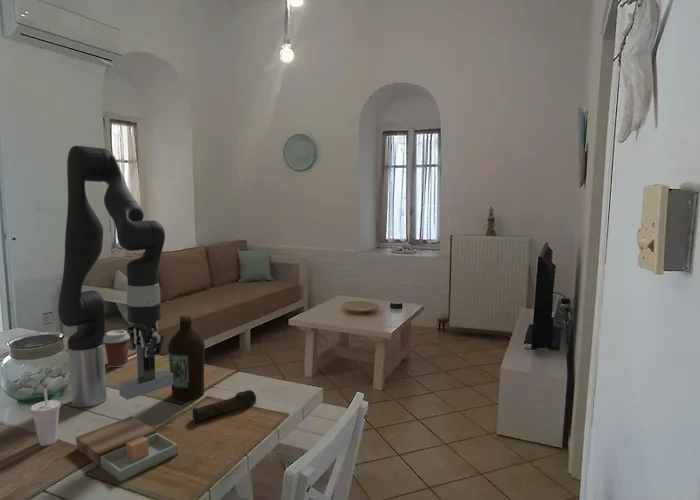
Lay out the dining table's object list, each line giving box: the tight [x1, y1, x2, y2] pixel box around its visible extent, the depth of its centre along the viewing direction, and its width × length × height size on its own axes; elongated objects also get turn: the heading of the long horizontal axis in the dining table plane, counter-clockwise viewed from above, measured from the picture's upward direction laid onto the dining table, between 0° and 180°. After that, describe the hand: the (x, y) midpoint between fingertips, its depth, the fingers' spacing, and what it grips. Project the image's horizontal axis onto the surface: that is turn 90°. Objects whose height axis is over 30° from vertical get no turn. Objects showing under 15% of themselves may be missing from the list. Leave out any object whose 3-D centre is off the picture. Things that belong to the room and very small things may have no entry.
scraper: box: [118, 342, 173, 401], centre depth 120 cm, size 4×12×12 cm, turn 141°
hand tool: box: [192, 389, 257, 424], centre depth 136 cm, size 19×4×5 cm, turn 128°
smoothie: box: [29, 388, 62, 447], centre depth 119 cm, size 6×6×14 cm
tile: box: [126, 436, 149, 463], centre depth 112 cm, size 4×4×2 cm
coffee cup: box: [103, 329, 130, 368], centre depth 172 cm, size 9×9×12 cm
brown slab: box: [75, 415, 157, 467], centre depth 118 cm, size 12×14×3 cm
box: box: [100, 432, 179, 482], centre depth 112 cm, size 9×14×2 cm, turn 142°
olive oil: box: [167, 314, 206, 402], centre depth 146 cm, size 11×11×25 cm
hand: (146, 368), depth 120 cm, fingers closed on scraper, 3 cm apart
